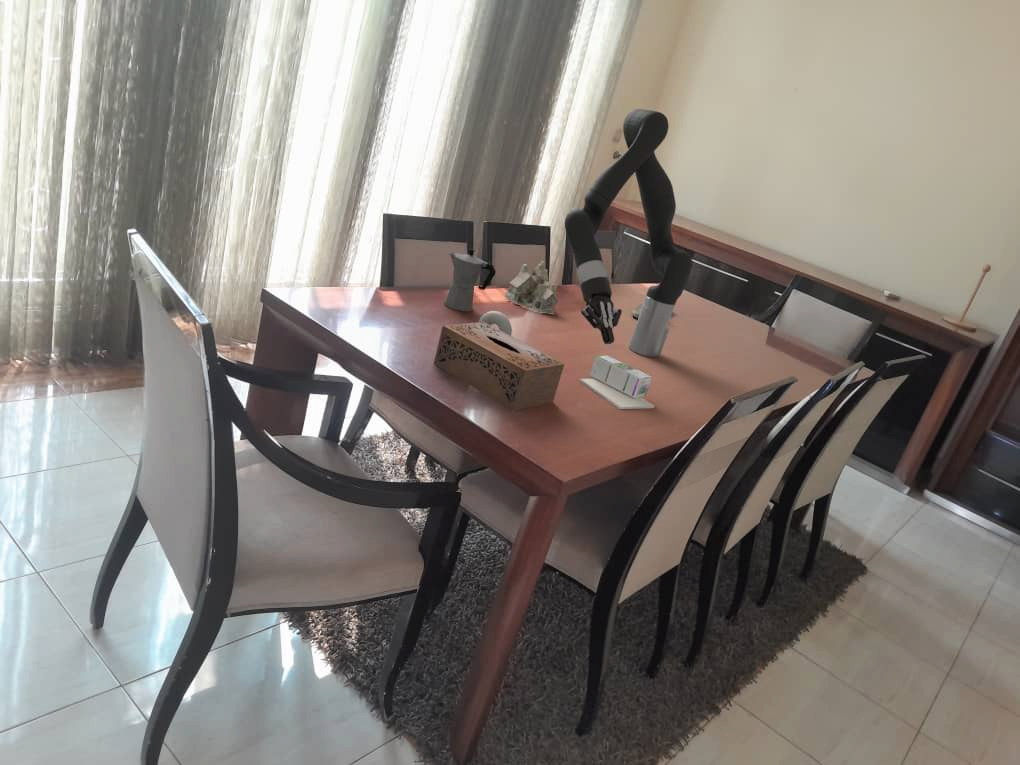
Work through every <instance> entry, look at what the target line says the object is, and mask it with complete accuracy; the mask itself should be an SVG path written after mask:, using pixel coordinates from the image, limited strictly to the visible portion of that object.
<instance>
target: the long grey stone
mask: <svg viewBox="0 0 1020 765" xmlns="http://www.w3.org/2000/svg"><path fill="white" fill-rule="evenodd" d="M642 306H643V304H639V305H637V306H636V307H634V308H633V309H632V311H631V316H632V315H633V316H634V317H636V318H635V319H637V318H639V315H640V312H641V309H642ZM633 316H632V317H633ZM634 317H633V318H634Z"/></svg>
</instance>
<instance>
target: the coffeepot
mask: <svg viewBox="0 0 1020 765" xmlns="http://www.w3.org/2000/svg"><path fill="white" fill-rule="evenodd" d="M468 251H469V252H468V254H463V253H456V252H454V253H453V252H452V253H451V252H450V253H448V255H449V256H450V258H451V261H452V265H453V272H452V273H453V274H452V278H453V279H452V283H451V285H450V287H449V290H448V291H447V292H448V293H447V294H446V297H445V300H444V303H443V304H444V305H445V306H446V307H447V306H448V308H449V307H450V309H452V310H455V311H458V310H460V311H459V312H464V311H469V312H472V311H473V304H474V294H475V293H474V292H475V286H476V284H477V281H478V279H479V277H480V275H481V272H482V270H488V271H489V273H488V274H487V277H486V279H485V280H484V281H483V284H482V285H478V287H477V288H478V290H482V291H485V290H486V289H487V287H488V286H489V284H491V282H492V280H493V278H494V277H495V275H496V273H497V272H496V269H495V266H494V264H492V263H489V262H486V261H484V260H482V259H481V258H478V257H477V256H474V253H475V249H473V248H469V250H468Z"/></svg>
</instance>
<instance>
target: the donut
mask: <svg viewBox="0 0 1020 765" xmlns="http://www.w3.org/2000/svg"><path fill="white" fill-rule="evenodd" d="M478 322H485V323H487V324H489V325H491V326H493V324H494V325H496V326H497V329H498V330H500V331H502V332H504V333H506V334H508V335H510V336H512V331H513V330H512V324H511V322H510V320H509V318H508V317H507V316H506V315H505V314H504V313H502V312H501V311H496V310H490V311H488V312H485V313H484V314H482V316H481V317H480V318H479V320H478Z"/></svg>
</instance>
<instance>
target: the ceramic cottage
mask: <svg viewBox="0 0 1020 765" xmlns="http://www.w3.org/2000/svg"><path fill="white" fill-rule="evenodd" d="M545 263H546V262H545V261H543V260H541V261H540V263H538V265H537V266H535V267H534V269H533V270H532V272H531V274H530V273H529V272H528V269H529V265H528V264H526V263H523V264H522V267H521V268H520V270H519V273H518V275H517V276H516V277H514V278H513V279H512V280H511V281H509V287H508V289H507V291H506V292H504V295H503V297H504V296H505V297H506V298H507V299H508V300H510V301H511V302H514V303H517V304H519V305H523V306H525V307H527V308H530V309H533V310H535V311H538V312H545V313H546V312H547V313H554V314H555V307H556V305H557V303H558V302H559V299H558V295H557V294H558V293H557V286H556V284H555V283H552V284H551V283H550V282H548V281H549V274H548V269H546V268H545Z"/></svg>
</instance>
